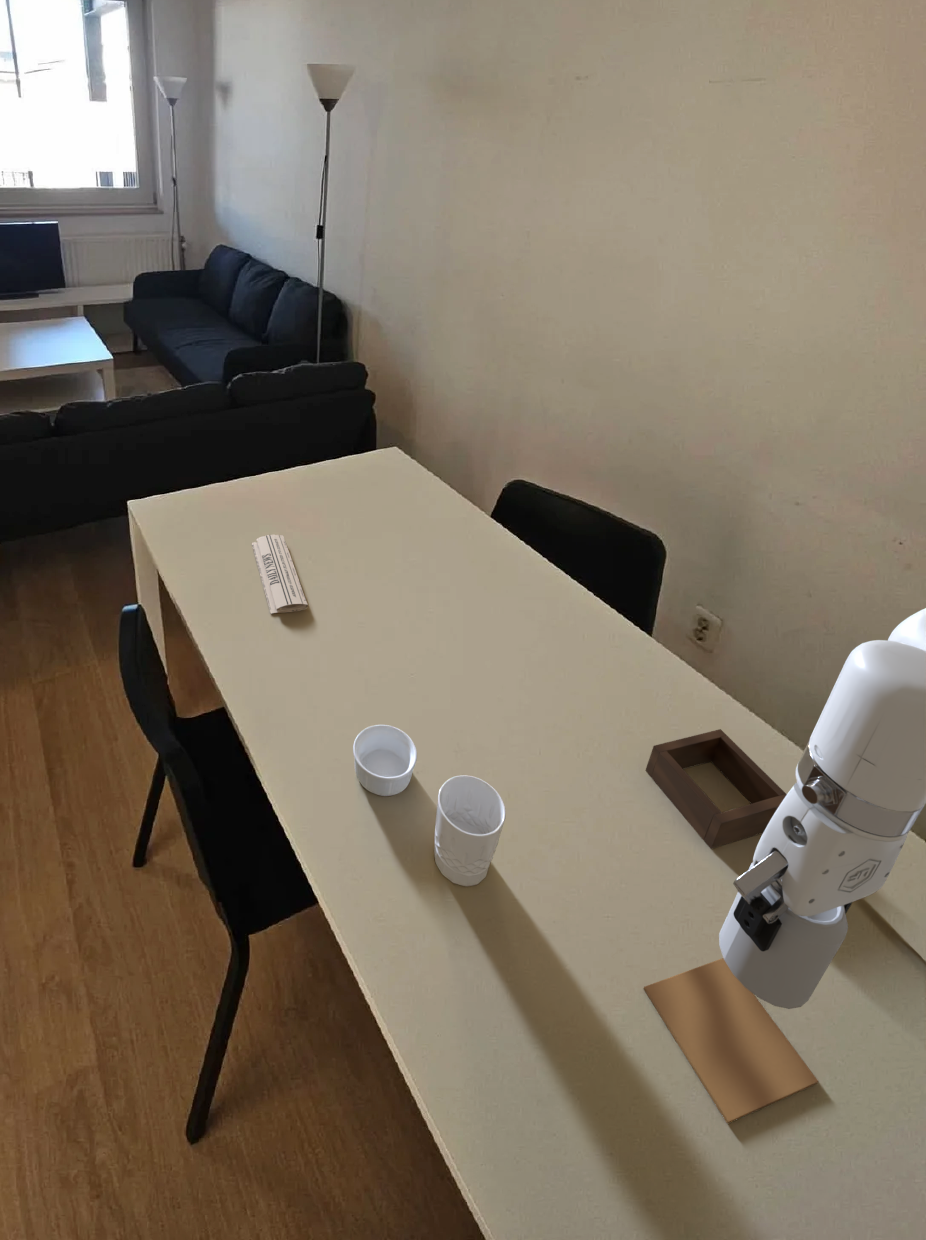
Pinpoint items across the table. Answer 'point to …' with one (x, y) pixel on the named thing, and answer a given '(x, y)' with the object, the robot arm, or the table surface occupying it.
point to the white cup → (467, 828)
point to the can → (784, 953)
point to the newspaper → (278, 575)
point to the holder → (695, 803)
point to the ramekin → (384, 759)
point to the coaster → (729, 1040)
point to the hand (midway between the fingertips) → (785, 919)
